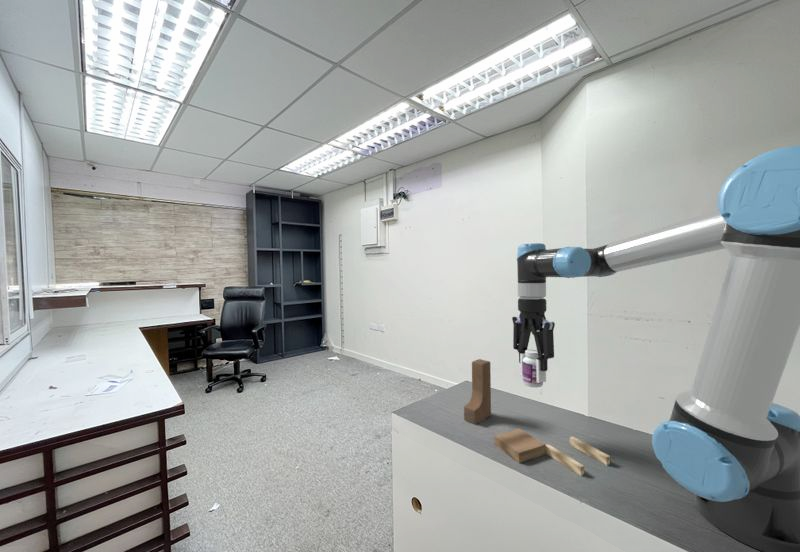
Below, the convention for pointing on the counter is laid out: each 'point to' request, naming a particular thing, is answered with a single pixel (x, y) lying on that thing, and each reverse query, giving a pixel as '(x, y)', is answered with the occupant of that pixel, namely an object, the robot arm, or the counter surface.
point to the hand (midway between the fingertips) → (532, 378)
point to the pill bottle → (530, 369)
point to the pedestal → (520, 445)
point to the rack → (571, 462)
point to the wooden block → (479, 393)
